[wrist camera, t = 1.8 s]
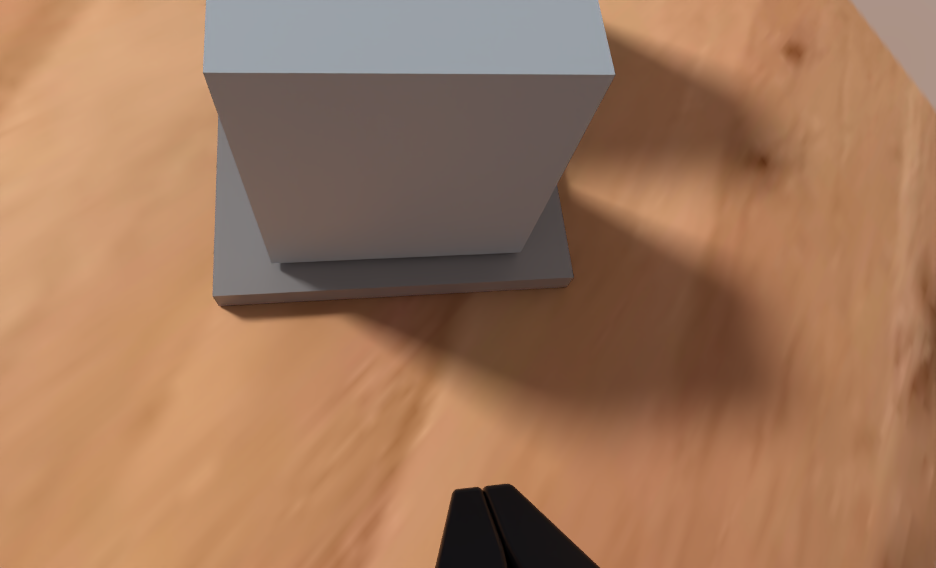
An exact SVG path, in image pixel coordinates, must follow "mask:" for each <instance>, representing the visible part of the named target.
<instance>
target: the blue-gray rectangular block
mask: <svg viewBox="0 0 936 568" xmlns="http://www.w3.org/2000/svg"><path fill="white" fill-rule="evenodd" d="M203 74H204V76H205V79H206V82H207V85H208V88H209V90H210V93H211V96H212V99H213V102H214V104H215V107H216V110H217V113H218V115H219V118H220V121H221V124H222V127H223V129H224V132H225V135H226V138H227V141H228V143H229V146H230V149H231V152H232V154H233V157H234V160H235V163H236V166H237V168H238V171H239V174H240V177H241V180H242V182H243V185H244V188H245V191H246V193H247V196H248V199H249V202H250V205H251V207H252V210H253V213H254V216H255V219H256V221H257V224H258V227H259V230H260V232H261V235H262V238H263V241H264V244H265V246H266V249H267V252H268V255H269V258H270V260H271V263H294V262H316V261H339V260H361V259H384V258H406V257H429V256H451V255H474V254H497V253H519V252H521V251H522V249H523V247H524V245H525V243H526V241H527V240H528V238H529V236H530V234H531V232H532V230H533V228H534V226H535V225H536V223H537V221H538V219H539V217H540V215H541V213H542V211H543V210H544V208H545V206H546V204H547V202H548V200H549V198H550V196H551V195H552V193H553V191H554V189H555V187H556V185H557V183H558V181H559V180H560V178H561V176H562V174H563V172H564V170H565V168H566V166H567V165H568V163H569V161H570V159H571V157H572V155H573V153H574V151H575V150H576V148H577V146H578V144H579V142H580V140H581V138H582V136H583V135H584V133H585V131H586V129H587V127H588V125H589V123H590V121H591V120H592V118H593V116H594V114H595V112H596V110H597V108H598V106H599V105H600V103H601V101H602V99H603V97H604V95H605V93H606V91H607V90H608V88H609V86H610V84H611V82H612V80H613V78H614V76H615V71H614V67H613V62H612V58H611V54H610V50H609V45H608V41H607V37H606V33H605V28H604V24H603V20H602V15H601V11H600V7H599V3H598V0H206V17H205V40H204V63H203Z"/></svg>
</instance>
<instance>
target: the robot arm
mask: <svg viewBox="0 0 936 568" xmlns="http://www.w3.org/2000/svg"><path fill="white" fill-rule="evenodd" d="M435 568H600V567H599V566H598V565H597V564H596V563H594V562H593V561H592V560H591V559H590V558H589V557H588V556H587V555H586V554H585V553H584V552H583V551H582V550H581V549H580V548H579V547H577V546H576V545H575V544H574V543H573V542H572V541H571V540H570V539H569V538H568V537H567V536H566V535H565V534H564V533H563V532H562V531H561V530H559V529H558V528H557V527H556V526H555V525H554V524H553V523H552V522H551V521H550V520H549V519H548V518H547V517H546V516H545V515H544V514H542V513H541V512H540V511H539V510H538V509H537V508H536V507H535V506H534V505H533V504H532V503H531V502H530V501H529V500H528V499H527V498H525V497H524V496H523V495H522V494H521V493H520V492H519V491H518V490H517V489H516V488H515V487H514V486H512V485H510V484H500V485H491V486H486V487H484V488H483V490H482V489H481V488H479V487H472V488H463V489H456V490H454V492H453V493H452V497H451V501H450V505H449V510H448V514H447V519H446V523H445V527H444V532H443V536H442V540H441V545H440V549H439V553H438V558H437V562H436V566H435Z"/></svg>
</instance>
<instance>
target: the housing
mask: <svg viewBox="0 0 936 568" xmlns="http://www.w3.org/2000/svg"><path fill="white" fill-rule="evenodd" d="M573 278H574V276H573V271H572V265H571V260H570V254H569V248H568V243H567V237H566V232H565V226H564V221H563V215H562V210H561V204H560V199H559V193H558V188H557V185H556V187H555V189H554V191H553V193H552V195H551V196H550V198H549V200H548V202H547V204H546V206H545V208H544V210H543V211H542V213H541V215H540V217H539V219H538V221H537V223H536V225H535V226H534V228H533V230H532V232H531V234H530V236H529V238H528V240H527V241H526V243H525V245H524V247H523V249H522V251H521V252H519V253H497V254H474V255H451V256H429V257H406V258H384V259H361V260H339V261H316V262H294V263H271V260H270V258H269V255H268V252H267V249H266V246H265V244H264V241H263V238H262V235H261V232H260V230H259V227H258V224H257V221H256V219H255V216H254V213H253V210H252V207H251V205H250V202H249V199H248V196H247V193H246V191H245V188H244V185H243V182H242V180H241V177H240V174H239V171H238V168H237V166H236V163H235V160H234V157H233V154H232V152H231V149H230V146H229V143H228V141H227V138H226V135H225V132H224V129H223V127H222V124H221V121H220V118H219V115H218V145H217V176H216V207H215V238H214V269H213V298H214V299H215V301H216V302H217V304H218V305H219V306H228V305H246V304H264V303H282V302H301V301H319V300H337V299H356V298H374V297H392V296H410V295H429V294H447V293H465V292H483V291H502V290H520V289H538V288H557V287H567V285H568V284H569V283H570V282H571V280H572V279H573Z"/></svg>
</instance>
